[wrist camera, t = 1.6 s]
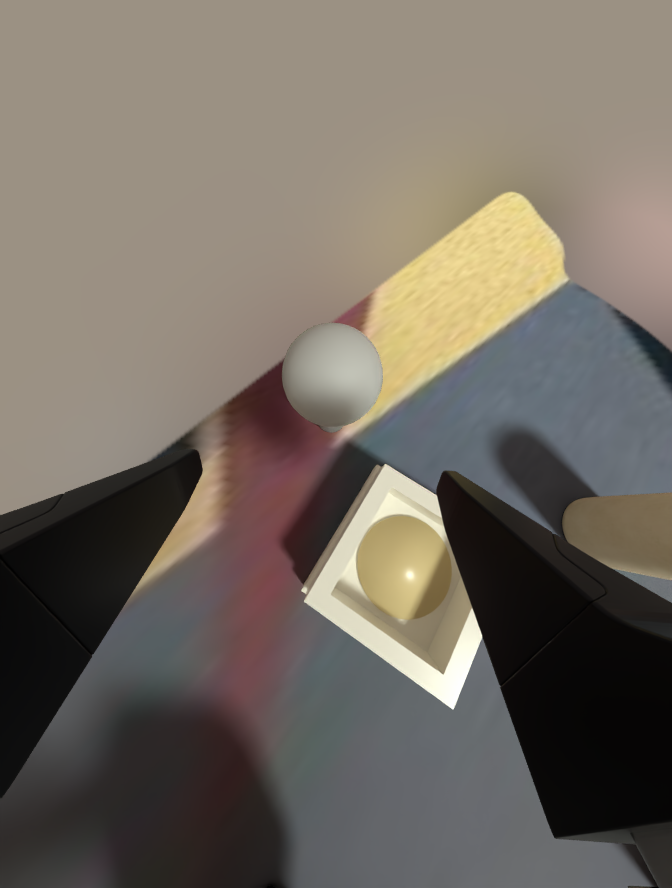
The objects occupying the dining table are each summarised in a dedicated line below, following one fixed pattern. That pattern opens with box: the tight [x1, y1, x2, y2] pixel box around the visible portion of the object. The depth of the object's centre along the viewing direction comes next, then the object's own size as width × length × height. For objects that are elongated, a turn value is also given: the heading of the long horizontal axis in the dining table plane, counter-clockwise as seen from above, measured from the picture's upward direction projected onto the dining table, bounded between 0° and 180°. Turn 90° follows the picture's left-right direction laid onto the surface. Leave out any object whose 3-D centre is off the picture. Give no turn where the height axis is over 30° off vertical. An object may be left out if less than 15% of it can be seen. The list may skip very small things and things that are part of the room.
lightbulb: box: [282, 323, 383, 432], centre depth 18 cm, size 6×6×11 cm
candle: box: [562, 493, 672, 580], centre depth 16 cm, size 6×6×10 cm
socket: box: [301, 464, 482, 709], centre depth 18 cm, size 11×11×4 cm
